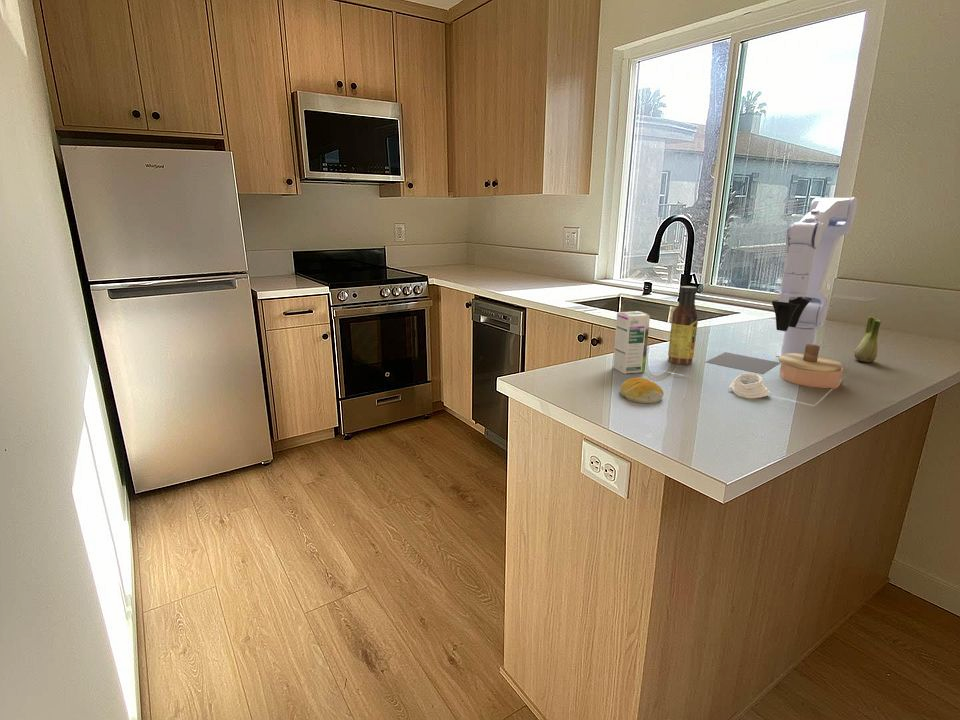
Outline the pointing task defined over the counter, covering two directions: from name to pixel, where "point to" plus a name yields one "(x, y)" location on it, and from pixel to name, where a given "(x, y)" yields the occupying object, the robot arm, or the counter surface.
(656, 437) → the counter surface
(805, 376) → the ring
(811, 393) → the counter surface
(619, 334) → the syrup box
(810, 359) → the lid
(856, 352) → the fennel bulb
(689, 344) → the sauce bottle
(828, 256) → the robot arm
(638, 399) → the bread roll
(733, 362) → the mat
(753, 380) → the whipped cream
